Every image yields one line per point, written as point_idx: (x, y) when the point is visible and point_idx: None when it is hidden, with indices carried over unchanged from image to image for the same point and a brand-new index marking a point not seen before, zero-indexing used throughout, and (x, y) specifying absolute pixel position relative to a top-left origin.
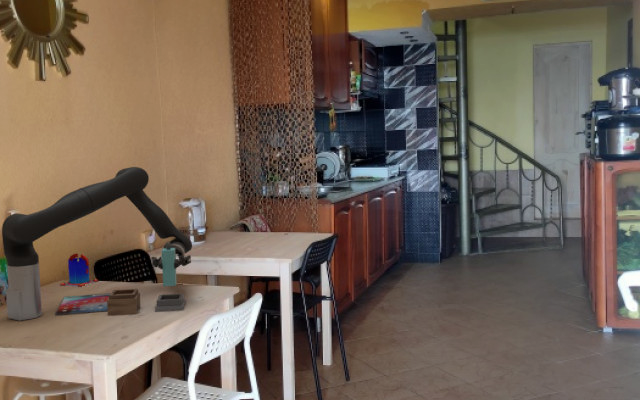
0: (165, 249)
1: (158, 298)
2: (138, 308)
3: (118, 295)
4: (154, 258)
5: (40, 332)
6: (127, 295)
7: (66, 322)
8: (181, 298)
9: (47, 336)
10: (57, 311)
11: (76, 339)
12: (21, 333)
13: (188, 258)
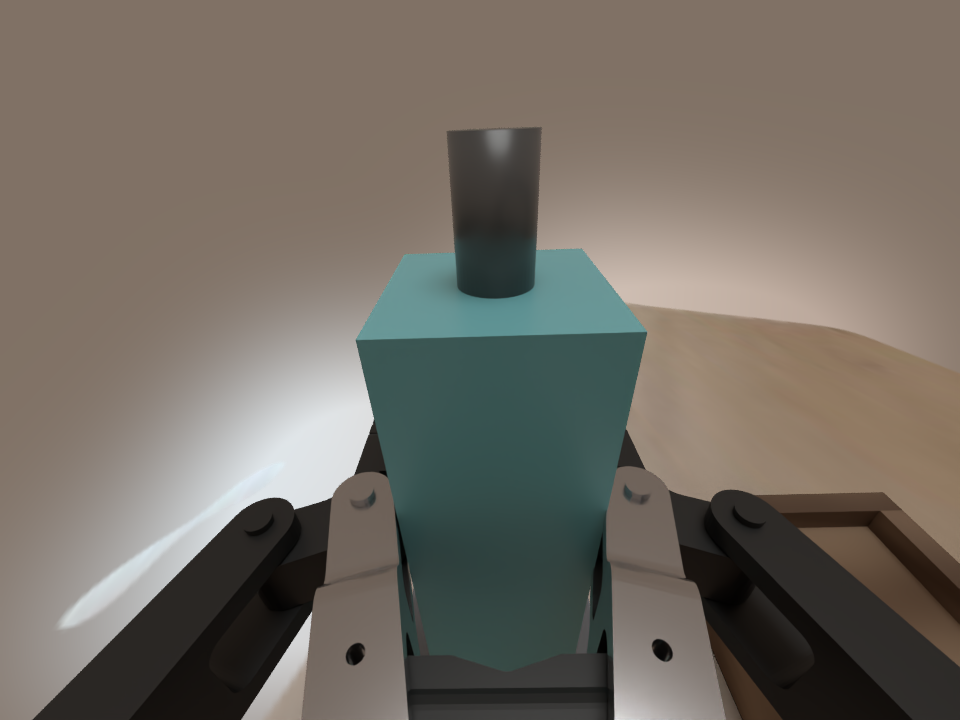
0: (549, 283)
1: (587, 628)
2: (716, 646)
3: (822, 496)
4: (915, 671)
5: (882, 390)
6: (759, 496)
7: (926, 471)
8: (415, 598)
9: (812, 365)
10: None
11: (700, 346)
12: (942, 387)
13: (78, 708)
